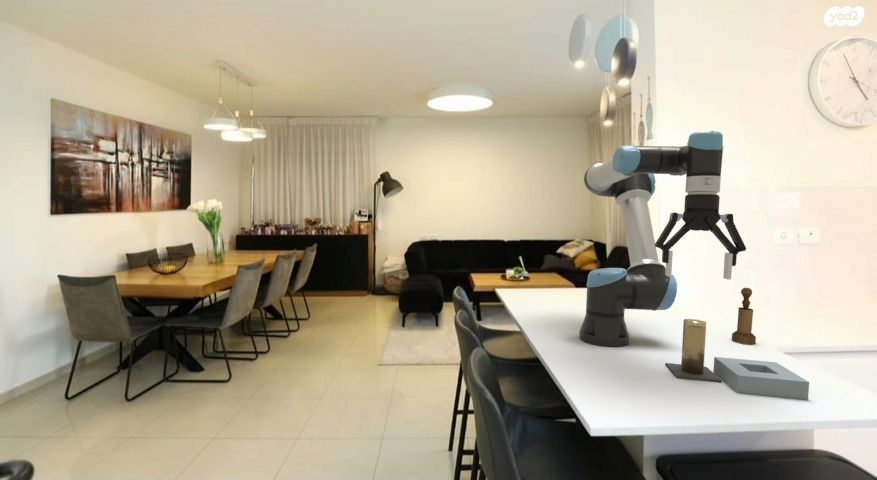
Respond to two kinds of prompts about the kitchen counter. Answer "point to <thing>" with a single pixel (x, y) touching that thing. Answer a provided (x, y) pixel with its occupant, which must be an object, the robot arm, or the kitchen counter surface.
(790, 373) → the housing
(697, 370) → the tan cylinder
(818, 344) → the kitchen counter surface
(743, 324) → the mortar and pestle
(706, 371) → the rubber pad
